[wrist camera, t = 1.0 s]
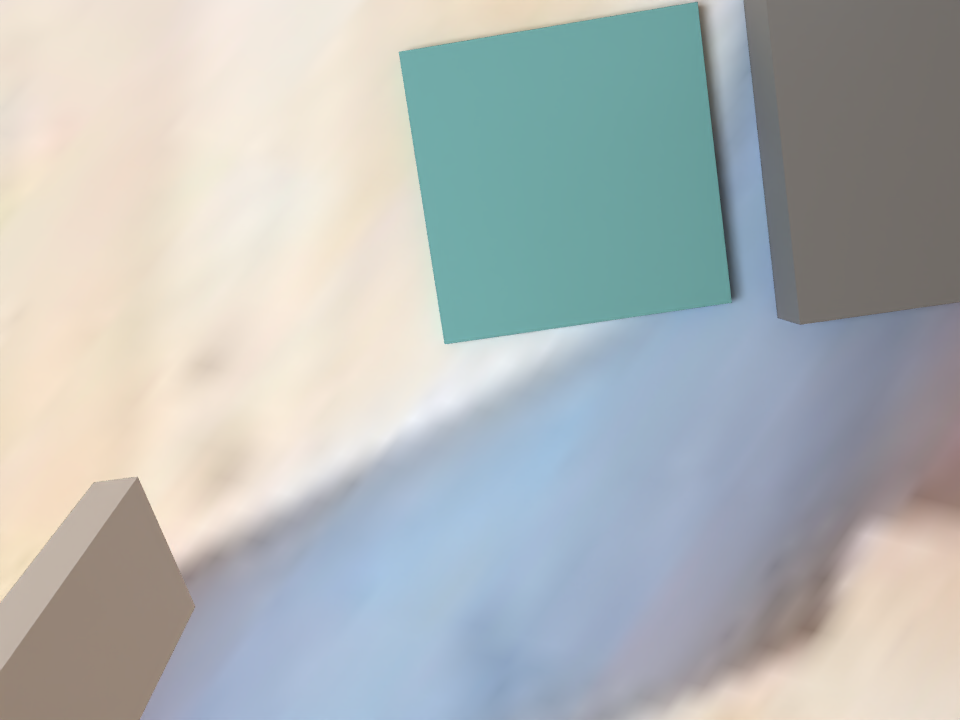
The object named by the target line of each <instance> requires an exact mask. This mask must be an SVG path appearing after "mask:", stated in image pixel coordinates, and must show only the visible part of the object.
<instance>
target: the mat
mask: <svg viewBox="0 0 960 720" xmlns="http://www.w3.org/2000/svg"><path fill="white" fill-rule="evenodd" d="M399 56H400V62H401V69H402V75H403V81H404V88H405V94H406V101H407V107H408V113H409V120H410V126H411V132H412V139H413V145H414V152H415V158H416V164H417V171H418V177H419V183H420V190H421V196H422V203H423V209H424V215H425V222H426V228H427V235H428V241H429V247H430V254H431V260H432V266H433V273H434V279H435V286H436V292H437V298H438V305H439V311H440V317H441V324H442V330H443V337H444V343H445V344H450V343H457V342H464V341H471V340H478V339H484V338H491V337H498V336H505V335H512V334H519V333H526V332H533V331H540V330H547V329H553V328H560V327H567V326H574V325H581V324H588V323H595V322H602V321H609V320H616V319H622V318H629V317H636V316H643V315H650V314H657V313H664V312H671V311H678V310H685V309H691V308H698V307H705V306H712V305H719V304H726V303H732V301H731V292H730V283H729V275H728V266H727V257H726V248H725V239H724V231H723V222H722V213H721V204H720V196H719V187H718V178H717V169H716V160H715V152H714V143H713V134H712V125H711V117H710V108H709V99H708V90H707V81H706V73H705V64H704V55H703V46H702V38H701V29H700V20H699V11H698V2H694V3H688V4H682V5H676V6H670V7H664V8H658V9H652V10H646V11H640V12H634V13H628V14H622V15H616V16H610V17H604V18H598V19H592V20H586V21H580V22H574V23H569V24H563V25H557V26H551V27H545V28H539V29H533V30H527V31H521V32H515V33H509V34H503V35H497V36H491V37H485V38H479V39H473V40H467V41H461V42H455V43H449V44H443V45H437V46H431V47H425V48H419V49H414V50H408V51H402V52H399Z"/></svg>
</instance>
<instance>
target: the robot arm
mask: <svg viewBox="0 0 960 720" xmlns="http://www.w3.org/2000/svg"><path fill="white" fill-rule="evenodd" d="M194 608H195V605H194V603H193V600H192V598H191V596H190V594H189V591H188V589H187V587H186V585H185V582H184V580H183V578H182V575H181V573H180V571H179V569H178V566H177V564H176V562H175V560H174V557H173V555H172V553H171V551H170V548H169V546H168V544H167V542H166V539H165V537H164V535H163V533H162V530H161V528H160V526H159V524H158V521H157V519H156V517H155V515H154V512H153V510H152V508H151V506H150V503H149V501H148V499H147V497H146V494H145V492H144V490H143V488H142V485H141V483H140V481H139V478H138V477H131V478H123V479H116V480H108V481H101V482H94V483H93V484H92V485H91V487H90V488H89V489H88V490H87V492H86V493H85V494H84V496H83V497H82V498H81V499H80V501H79V502H78V503H77V505H76V506H75V507H74V508H73V510H72V511H71V512H70V514H69V515H68V516H67V517H66V519H65V520H64V521H63V523H62V524H61V525H60V526H59V528H58V529H57V530H56V532H55V533H54V534H53V536H52V537H51V538H50V539H49V541H48V542H47V543H46V545H45V546H44V547H43V548H42V550H41V551H40V552H39V554H38V555H37V556H36V557H35V559H34V560H33V561H32V563H31V564H30V565H29V566H28V568H27V569H26V570H25V572H24V573H23V574H22V575H21V577H20V578H19V579H18V581H17V582H16V583H15V584H14V586H13V587H12V588H11V590H10V591H9V592H8V594H7V595H6V596H5V597H4V599H3V600H2V601H1V603H0V720H140V718H141V716H142V714H143V712H144V710H145V708H146V706H147V703H148V701H149V699H150V697H151V695H152V693H153V691H154V689H155V687H156V685H157V683H158V681H159V679H160V677H161V675H162V673H163V671H164V669H165V667H166V665H167V663H168V661H169V659H170V657H171V655H172V653H173V651H174V649H175V647H176V645H177V643H178V641H179V639H180V637H181V635H182V633H183V630H184V628H185V626H186V624H187V622H188V620H189V618H190V616H191V614H192V612H193V610H194Z"/></svg>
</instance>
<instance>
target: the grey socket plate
mask: <svg viewBox="0 0 960 720" xmlns="http://www.w3.org/2000/svg"><path fill="white" fill-rule="evenodd" d="M744 9H745V18H746V28H747V37H748V46H749V56H750V65H751V74H752V83H753V93H754V102H755V111H756V121H757V130H758V139H759V149H760V158H761V167H762V177H763V186H764V195H765V204H766V214H767V223H768V232H769V242H770V251H771V260H772V270H773V279H774V288H775V298H776V307H777V316H778V318H780V319H783V320H786V321H790V322H793V323H796V324H800V325H801V324H808V323H815V322H822V321H829V320H836V319H843V318H850V317H857V316H864V315H871V314H878V313H885V312H892V311H899V310H906V309H913V308H920V307H927V306H935V305H942V304H949V303H956V302H960V0H744Z"/></svg>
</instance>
